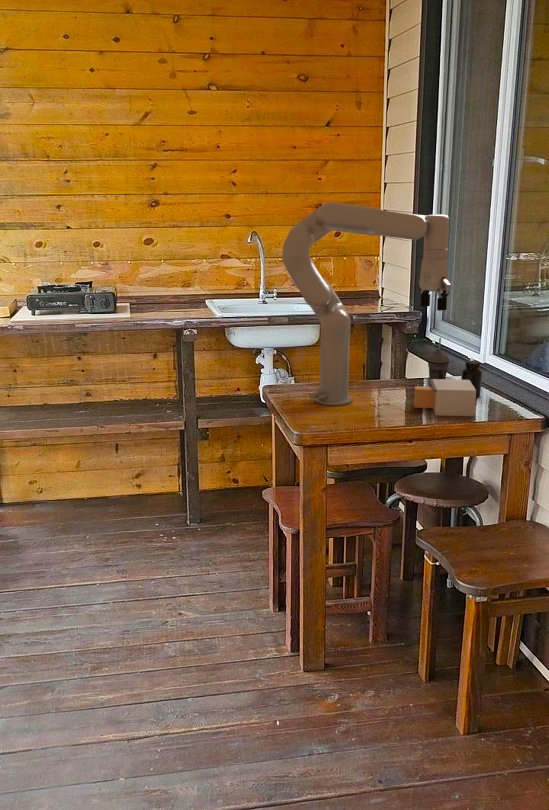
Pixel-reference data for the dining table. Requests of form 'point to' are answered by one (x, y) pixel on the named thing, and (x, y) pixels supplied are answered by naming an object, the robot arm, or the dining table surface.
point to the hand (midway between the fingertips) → (433, 308)
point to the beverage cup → (438, 364)
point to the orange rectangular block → (424, 397)
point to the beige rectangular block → (453, 397)
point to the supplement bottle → (473, 375)
